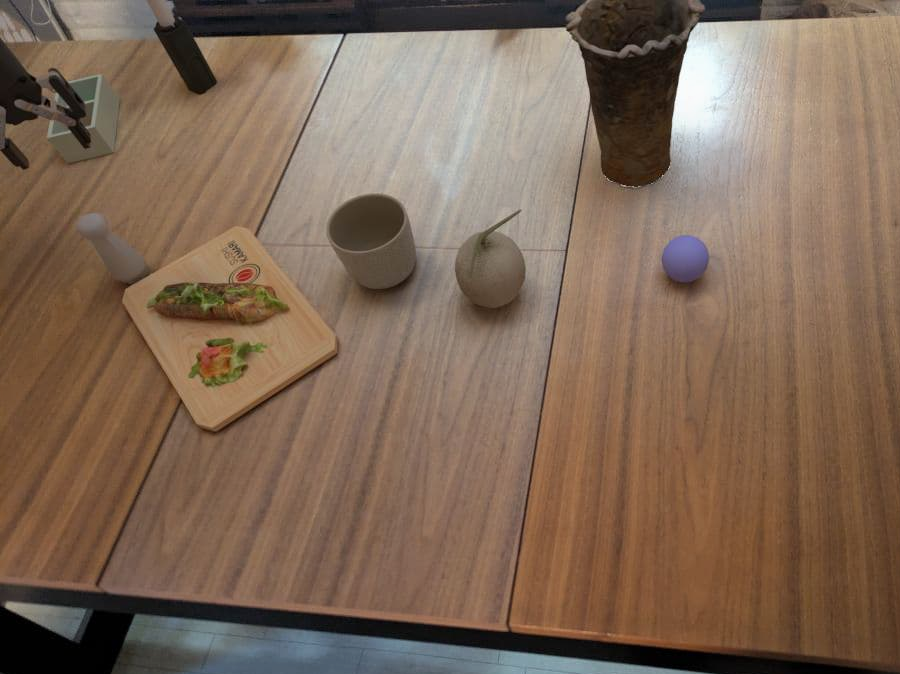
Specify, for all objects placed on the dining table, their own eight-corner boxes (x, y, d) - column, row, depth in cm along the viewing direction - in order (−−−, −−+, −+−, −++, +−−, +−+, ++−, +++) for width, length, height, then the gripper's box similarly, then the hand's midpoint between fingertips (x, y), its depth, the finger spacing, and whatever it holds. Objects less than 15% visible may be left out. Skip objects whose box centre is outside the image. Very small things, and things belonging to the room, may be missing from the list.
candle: (203, 74, 149) (134, -52, 127) (219, 81, 147) (151, -45, 126) (185, 88, 147) (112, -38, 126) (201, 95, 145) (129, -31, 124)
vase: (649, 212, 116) (656, 61, 94) (559, 174, 123) (545, 25, 100) (704, 148, 123) (723, -8, 100) (616, 115, 130) (615, -37, 107)
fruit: (449, 316, 109) (427, 249, 96) (479, 262, 114) (462, 191, 102) (511, 332, 106) (497, 265, 94) (539, 277, 112) (529, 205, 99)
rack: (67, 163, 138) (46, 138, 133) (76, 109, 147) (57, 83, 142) (114, 152, 138) (94, 126, 133) (120, 99, 147) (102, 73, 142)
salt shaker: (123, 265, 122) (73, 209, 111) (155, 260, 122) (109, 203, 111) (116, 291, 119) (64, 236, 108) (149, 286, 119) (101, 230, 107)
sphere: (670, 252, 112) (672, 220, 106) (712, 264, 110) (718, 232, 104) (653, 284, 109) (655, 252, 103) (697, 297, 107) (702, 265, 101)
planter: (382, 312, 111) (361, 265, 102) (334, 275, 116) (309, 227, 107) (439, 265, 115) (423, 216, 106) (390, 231, 120) (370, 181, 111)
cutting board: (346, 349, 108) (329, 319, 101) (208, 439, 102) (181, 413, 95) (247, 228, 124) (227, 195, 117) (123, 300, 118) (94, 269, 111)
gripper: (25, 11, 87) (105, 123, 101) (-94, 47, 85) (5, 156, 99) (26, 43, 84) (110, 154, 97) (-98, 81, 82) (5, 189, 96)
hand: (57, 155), depth 98 cm, fingers open, 8 cm apart
